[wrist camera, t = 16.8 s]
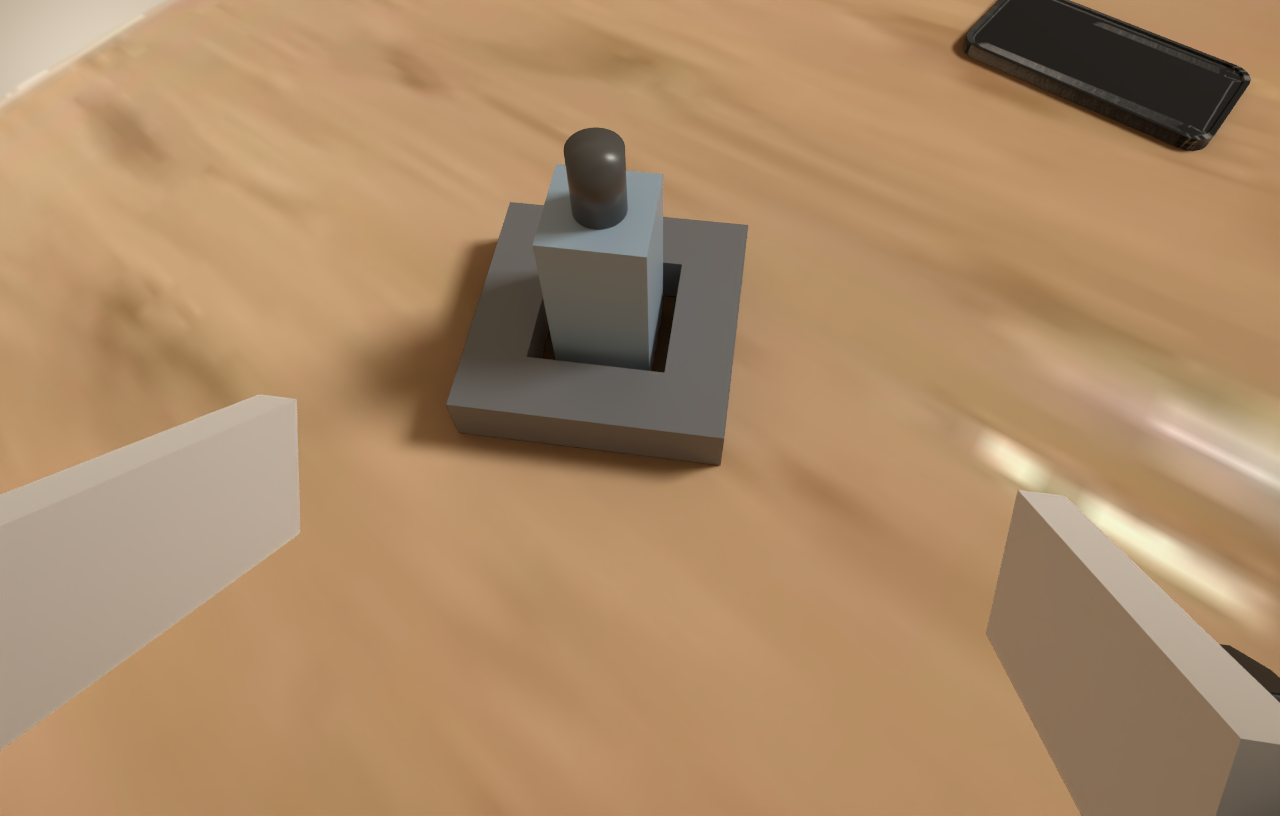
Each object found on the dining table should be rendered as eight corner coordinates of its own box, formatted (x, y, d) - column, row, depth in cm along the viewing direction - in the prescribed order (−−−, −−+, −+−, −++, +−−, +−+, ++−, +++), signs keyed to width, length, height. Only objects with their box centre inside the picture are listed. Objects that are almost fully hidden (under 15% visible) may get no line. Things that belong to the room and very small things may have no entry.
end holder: (743, 259, 42) (748, 225, 40) (720, 465, 36) (724, 438, 34) (517, 236, 43) (510, 202, 41) (458, 432, 37) (445, 404, 35)
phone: (1207, 145, 44) (960, 39, 49) (1195, 161, 45) (954, 55, 50) (1257, 72, 47) (1019, -21, 52) (1245, 88, 48) (1012, -5, 53)
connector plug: (662, 310, 40) (663, 112, 30) (649, 384, 38) (645, 198, 28) (576, 301, 41) (547, 102, 30) (558, 373, 38) (520, 186, 28)
